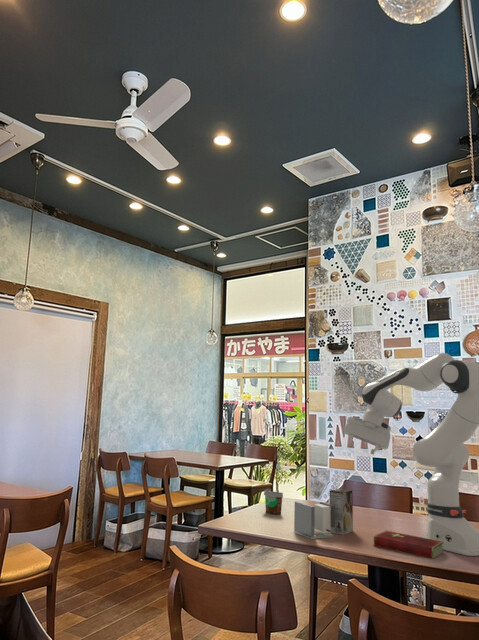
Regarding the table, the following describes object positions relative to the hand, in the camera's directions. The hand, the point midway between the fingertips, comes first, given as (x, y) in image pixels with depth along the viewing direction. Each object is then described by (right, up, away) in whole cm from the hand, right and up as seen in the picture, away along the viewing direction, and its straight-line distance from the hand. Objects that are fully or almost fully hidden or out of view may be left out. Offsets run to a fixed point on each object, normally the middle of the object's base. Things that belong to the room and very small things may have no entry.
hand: (361, 449), depth 200 cm
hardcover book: (+7, -26, -37) cm, 46 cm away
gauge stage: (-21, -26, -20) cm, 39 cm away
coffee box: (-13, -29, -16) cm, 36 cm away
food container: (-39, -35, +15) cm, 54 cm away
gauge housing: (-25, -27, -22) cm, 43 cm away
